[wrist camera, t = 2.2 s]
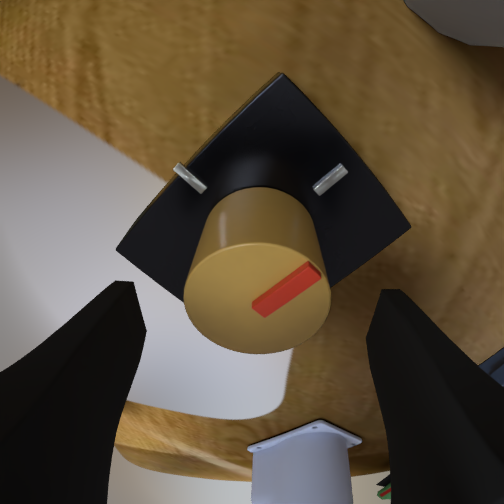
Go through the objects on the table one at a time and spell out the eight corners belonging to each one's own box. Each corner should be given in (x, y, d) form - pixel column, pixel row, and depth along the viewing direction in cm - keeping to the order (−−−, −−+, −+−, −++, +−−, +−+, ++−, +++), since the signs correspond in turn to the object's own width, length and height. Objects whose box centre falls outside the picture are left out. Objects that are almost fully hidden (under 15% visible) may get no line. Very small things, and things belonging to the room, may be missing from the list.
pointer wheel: (258, 299, 15) (255, 377, 11) (182, 237, 13) (152, 309, 9) (337, 240, 13) (361, 314, 9) (260, 162, 11) (258, 215, 8)
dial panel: (250, 309, 19) (248, 350, 16) (132, 215, 16) (107, 248, 13) (392, 202, 15) (417, 233, 12) (273, 66, 12) (276, 65, 9)
